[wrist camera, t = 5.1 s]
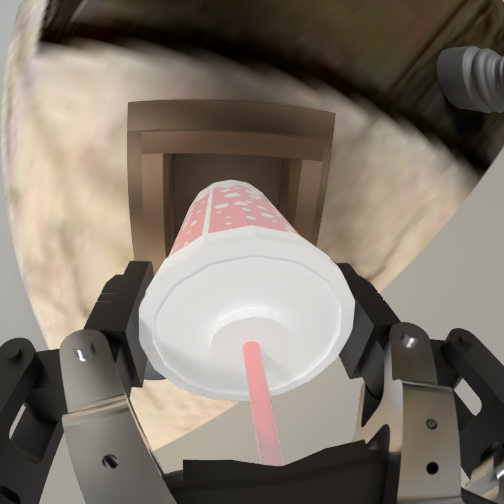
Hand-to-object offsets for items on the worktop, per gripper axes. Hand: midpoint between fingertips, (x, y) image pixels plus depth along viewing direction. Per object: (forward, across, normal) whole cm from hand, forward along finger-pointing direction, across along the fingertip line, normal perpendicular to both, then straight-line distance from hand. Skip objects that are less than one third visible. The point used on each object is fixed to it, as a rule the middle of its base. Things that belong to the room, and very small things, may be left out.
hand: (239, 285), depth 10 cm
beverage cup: (+6, 0, 0) cm, 6 cm away
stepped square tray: (+12, 0, 0) cm, 12 cm away
